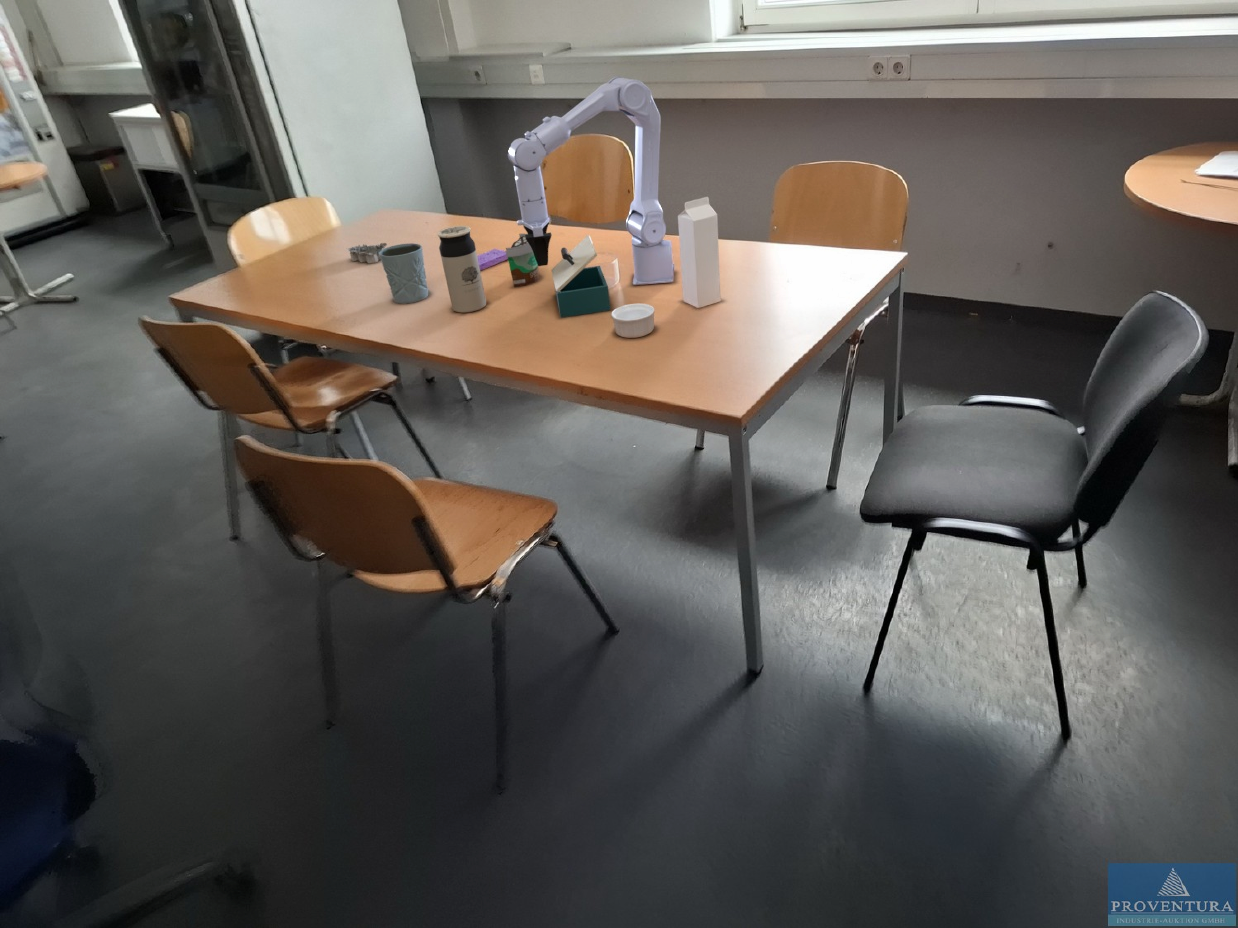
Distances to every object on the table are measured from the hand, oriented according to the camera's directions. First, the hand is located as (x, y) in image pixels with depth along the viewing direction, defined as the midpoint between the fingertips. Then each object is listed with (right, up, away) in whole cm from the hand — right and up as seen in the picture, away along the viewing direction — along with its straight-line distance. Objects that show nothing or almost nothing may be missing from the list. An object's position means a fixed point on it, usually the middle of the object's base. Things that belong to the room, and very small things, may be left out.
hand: (541, 260), depth 183 cm
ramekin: (+21, -18, -14) cm, 31 cm away
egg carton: (-54, +13, +51) cm, 76 cm away
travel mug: (-18, -9, +9) cm, 22 cm away
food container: (-5, 0, +21) cm, 21 cm away
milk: (+35, -10, -3) cm, 37 cm away
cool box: (+9, -9, +4) cm, 13 cm away
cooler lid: (+7, -1, -1) cm, 8 cm away
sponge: (-18, +8, +36) cm, 41 cm away
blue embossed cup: (-34, -5, +19) cm, 39 cm away
